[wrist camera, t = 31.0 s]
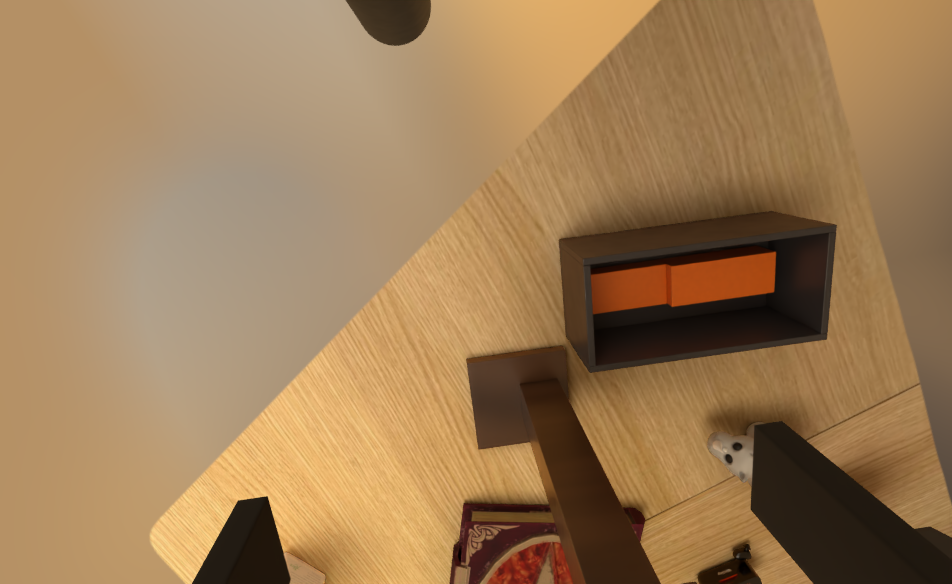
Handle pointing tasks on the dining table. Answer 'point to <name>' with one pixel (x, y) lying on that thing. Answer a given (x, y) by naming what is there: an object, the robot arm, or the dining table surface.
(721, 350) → the open storage bin
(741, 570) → the wireless earbuds
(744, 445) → the chubby cartoon animal
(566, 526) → the wooden pedestal stand
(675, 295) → the block
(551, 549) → the book
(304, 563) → the syrup box
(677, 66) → the dining table surface
